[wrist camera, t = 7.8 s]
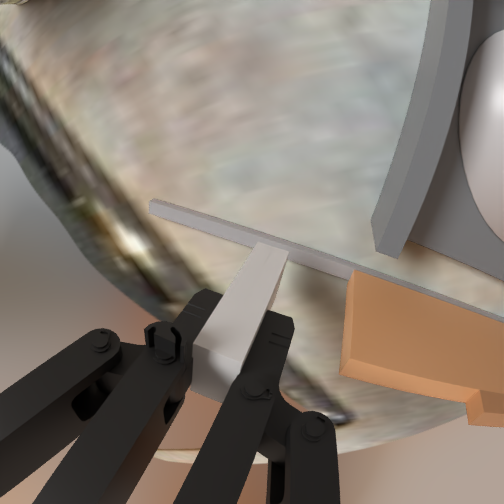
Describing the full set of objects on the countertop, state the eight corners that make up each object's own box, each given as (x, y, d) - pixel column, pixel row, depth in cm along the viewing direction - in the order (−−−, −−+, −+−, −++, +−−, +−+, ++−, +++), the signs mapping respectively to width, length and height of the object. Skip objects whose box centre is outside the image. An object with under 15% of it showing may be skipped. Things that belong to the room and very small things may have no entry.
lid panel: (354, 269, 14) (347, 384, 8) (540, 337, 12) (570, 416, 6) (347, 284, 15) (334, 399, 9) (532, 347, 12) (559, 426, 6)
